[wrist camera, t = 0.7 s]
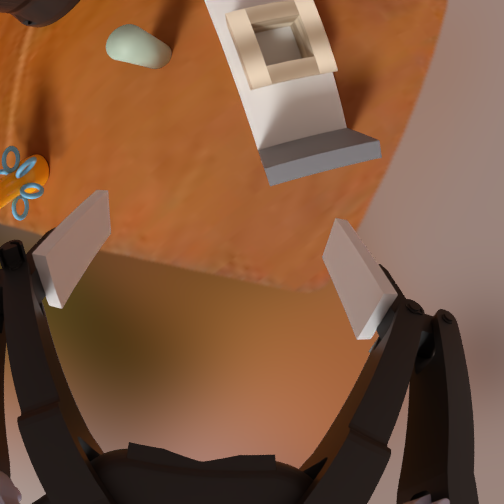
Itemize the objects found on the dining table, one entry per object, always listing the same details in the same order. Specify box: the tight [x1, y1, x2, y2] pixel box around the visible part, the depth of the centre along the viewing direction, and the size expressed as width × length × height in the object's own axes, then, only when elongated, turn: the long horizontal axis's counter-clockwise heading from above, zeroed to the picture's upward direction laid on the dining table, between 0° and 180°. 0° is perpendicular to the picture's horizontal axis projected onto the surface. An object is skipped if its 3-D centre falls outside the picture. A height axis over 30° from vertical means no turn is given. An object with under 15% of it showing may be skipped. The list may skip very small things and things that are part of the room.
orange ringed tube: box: [0, 146, 49, 220], centre depth 28 cm, size 12×10×15 cm
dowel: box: [106, 24, 172, 69], centre depth 23 cm, size 4×4×12 cm
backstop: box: [204, 0, 382, 186], centre depth 25 cm, size 26×13×11 cm, turn 17°
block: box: [225, 0, 338, 91], centre depth 25 cm, size 10×10×6 cm
